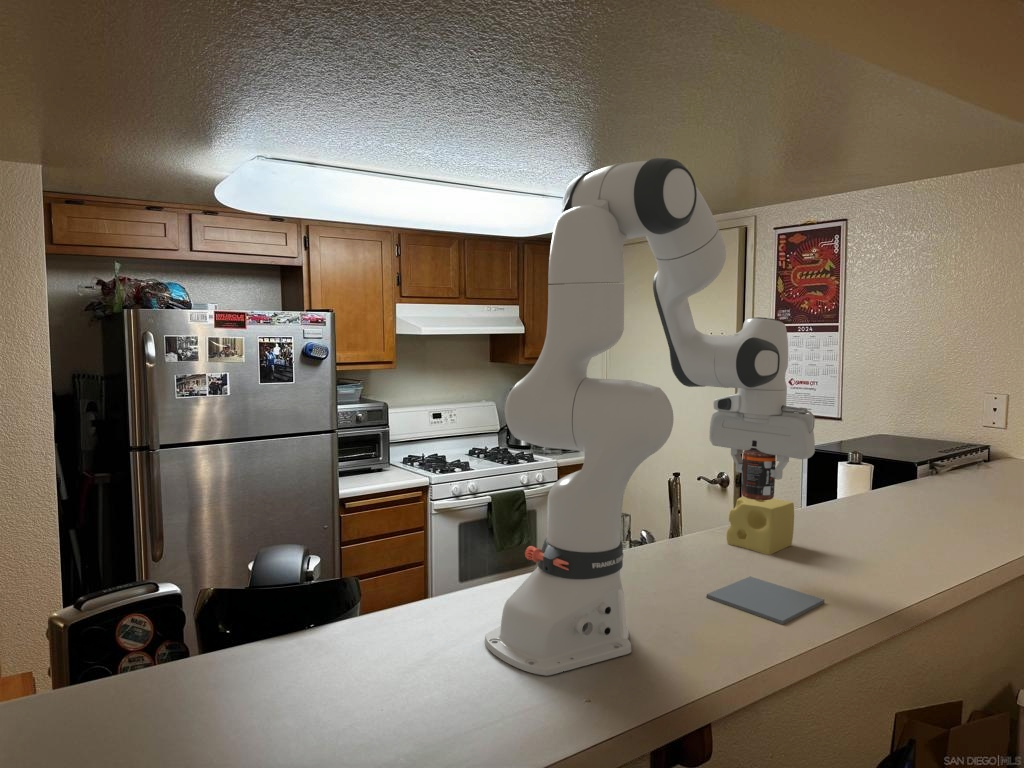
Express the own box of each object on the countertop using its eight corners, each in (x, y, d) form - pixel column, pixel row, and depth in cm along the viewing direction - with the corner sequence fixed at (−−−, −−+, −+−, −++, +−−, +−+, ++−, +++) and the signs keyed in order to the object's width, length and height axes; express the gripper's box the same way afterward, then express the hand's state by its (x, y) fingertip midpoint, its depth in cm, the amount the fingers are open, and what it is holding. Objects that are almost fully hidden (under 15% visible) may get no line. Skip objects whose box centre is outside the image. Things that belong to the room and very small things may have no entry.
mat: (782, 624, 108) (782, 620, 108) (706, 597, 119) (706, 594, 119) (824, 602, 117) (824, 599, 117) (750, 579, 128) (750, 576, 128)
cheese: (725, 544, 149) (727, 499, 149) (751, 535, 156) (753, 492, 156) (770, 556, 142) (772, 509, 141) (795, 546, 149) (797, 501, 148)
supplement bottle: (776, 502, 128) (779, 442, 127) (743, 500, 129) (745, 440, 128) (771, 494, 134) (773, 437, 133) (739, 493, 135) (741, 436, 134)
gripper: (823, 407, 124) (819, 482, 125) (724, 398, 140) (721, 465, 141) (806, 409, 120) (802, 487, 121) (706, 400, 136) (703, 468, 137)
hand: (758, 475), depth 131 cm, fingers closed on supplement bottle, 6 cm apart
